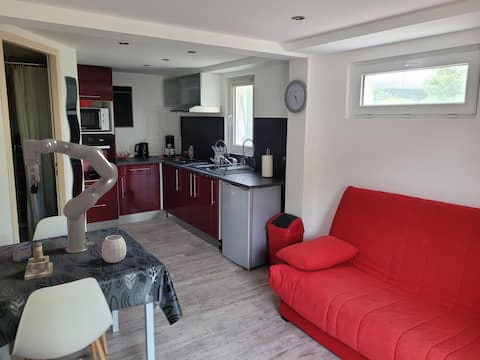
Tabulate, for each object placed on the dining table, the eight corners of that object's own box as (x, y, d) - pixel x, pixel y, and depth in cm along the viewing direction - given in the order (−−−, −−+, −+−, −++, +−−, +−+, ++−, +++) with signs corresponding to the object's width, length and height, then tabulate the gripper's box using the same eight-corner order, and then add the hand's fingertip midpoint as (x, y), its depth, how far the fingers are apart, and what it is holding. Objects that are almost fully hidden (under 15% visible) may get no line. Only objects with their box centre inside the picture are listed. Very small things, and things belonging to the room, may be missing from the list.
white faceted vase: (123, 265, 194) (122, 241, 191) (98, 265, 193) (97, 241, 190) (129, 255, 207) (128, 233, 204) (106, 255, 206) (105, 233, 203)
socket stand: (52, 264, 191) (51, 253, 190) (52, 275, 179) (51, 263, 178) (26, 268, 186) (25, 257, 184) (24, 280, 173) (23, 267, 172)
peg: (43, 267, 185) (41, 241, 182) (43, 270, 181) (41, 244, 178) (34, 268, 183) (32, 242, 180) (34, 271, 179) (32, 245, 177)
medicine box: (19, 262, 193) (17, 247, 191) (13, 260, 194) (11, 245, 193) (32, 256, 200) (30, 242, 199) (26, 255, 202) (24, 241, 200)
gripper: (39, 163, 191) (41, 194, 194) (40, 159, 206) (43, 188, 209) (23, 164, 188) (26, 195, 191) (25, 160, 203) (28, 189, 206)
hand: (34, 191), depth 200 cm, fingers open, 9 cm apart
